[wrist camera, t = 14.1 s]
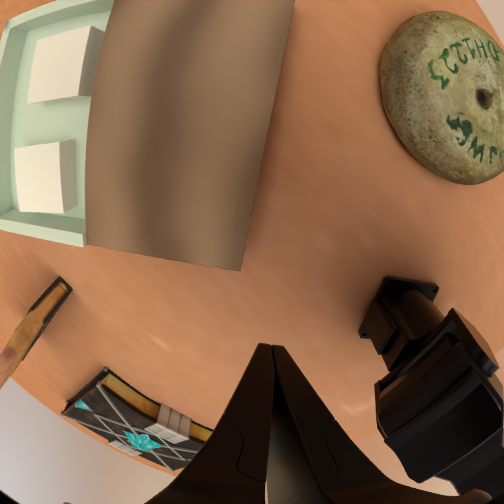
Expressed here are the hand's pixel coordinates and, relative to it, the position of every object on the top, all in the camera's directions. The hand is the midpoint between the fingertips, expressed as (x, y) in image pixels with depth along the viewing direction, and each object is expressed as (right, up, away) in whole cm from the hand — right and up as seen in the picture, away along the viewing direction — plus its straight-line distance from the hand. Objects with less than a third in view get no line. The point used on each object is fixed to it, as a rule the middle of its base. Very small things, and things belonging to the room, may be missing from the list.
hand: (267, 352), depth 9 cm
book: (-16, -21, +24) cm, 36 cm away
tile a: (-16, +9, +8) cm, 20 cm away
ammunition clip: (-22, -2, +14) cm, 26 cm away
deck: (-5, +12, +7) cm, 15 cm away
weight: (+14, +15, +6) cm, 22 cm away
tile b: (-13, +16, +4) cm, 22 cm away
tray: (-16, +14, +6) cm, 22 cm away
